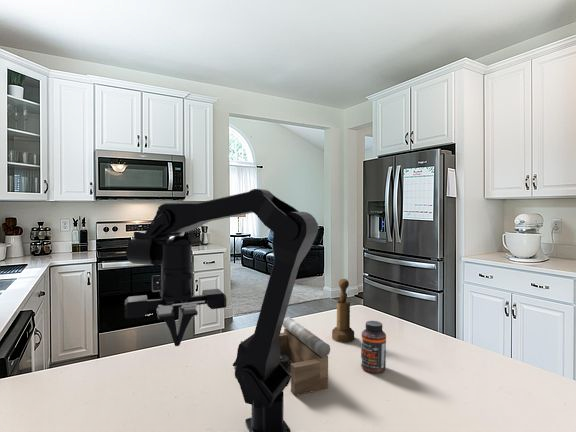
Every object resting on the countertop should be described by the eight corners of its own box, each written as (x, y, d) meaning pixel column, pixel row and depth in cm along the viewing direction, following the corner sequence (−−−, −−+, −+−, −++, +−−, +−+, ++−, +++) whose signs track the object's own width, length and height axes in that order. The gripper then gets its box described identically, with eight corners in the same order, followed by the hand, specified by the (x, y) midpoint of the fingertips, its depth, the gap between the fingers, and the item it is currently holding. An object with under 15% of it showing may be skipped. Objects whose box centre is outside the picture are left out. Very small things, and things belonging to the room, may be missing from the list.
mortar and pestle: (330, 341, 105) (330, 280, 105) (333, 333, 112) (334, 276, 111) (352, 343, 103) (353, 281, 103) (355, 335, 110) (356, 277, 109)
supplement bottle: (357, 370, 86) (358, 324, 86) (364, 361, 92) (364, 317, 91) (382, 376, 84) (383, 328, 83) (388, 366, 89) (388, 321, 89)
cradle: (330, 387, 78) (330, 342, 78) (294, 395, 75) (294, 348, 74) (292, 353, 96) (292, 316, 96) (262, 358, 93) (262, 320, 93)
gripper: (215, 258, 81) (215, 326, 82) (125, 263, 74) (126, 338, 74) (227, 266, 71) (227, 343, 72) (124, 273, 64) (125, 359, 64)
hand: (177, 345), depth 71 cm, fingers closed
